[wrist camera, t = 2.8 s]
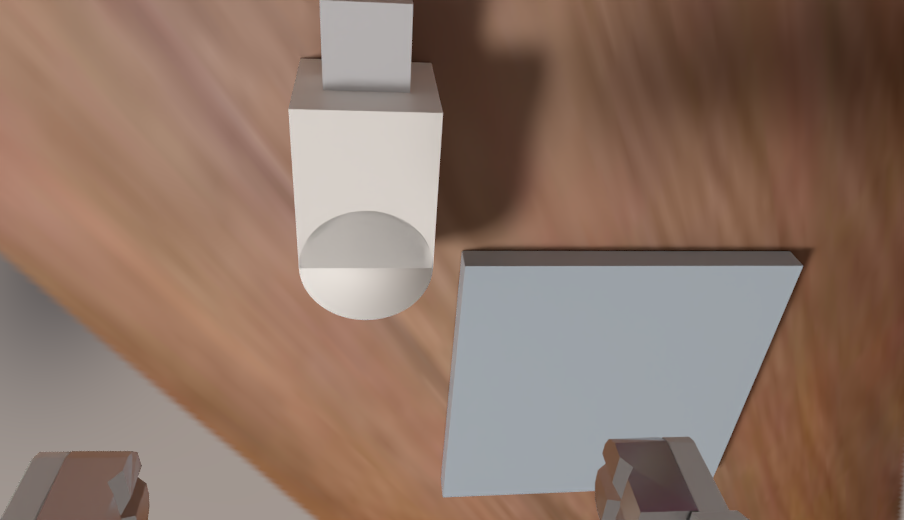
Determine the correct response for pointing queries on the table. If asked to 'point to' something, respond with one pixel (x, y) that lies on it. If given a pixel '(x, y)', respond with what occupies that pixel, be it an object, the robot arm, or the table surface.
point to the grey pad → (601, 358)
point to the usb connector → (365, 161)
